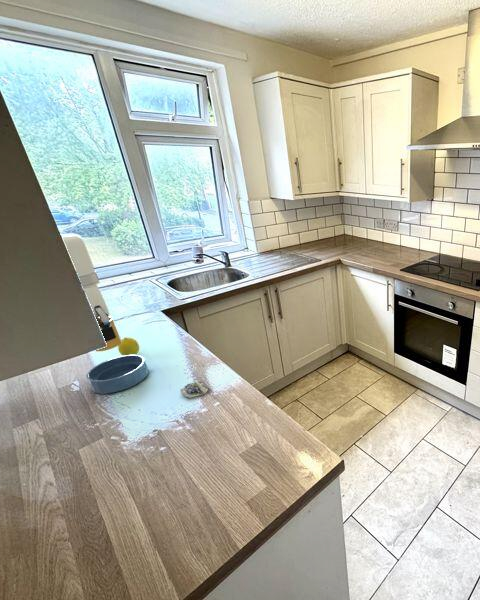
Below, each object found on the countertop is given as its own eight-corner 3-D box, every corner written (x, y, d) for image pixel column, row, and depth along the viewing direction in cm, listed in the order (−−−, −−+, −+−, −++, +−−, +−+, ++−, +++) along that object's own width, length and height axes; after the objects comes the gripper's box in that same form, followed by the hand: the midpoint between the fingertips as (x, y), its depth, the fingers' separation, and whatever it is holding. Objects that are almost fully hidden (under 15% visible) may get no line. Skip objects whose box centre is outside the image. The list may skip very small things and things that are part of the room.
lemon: (145, 355, 116) (138, 336, 113) (127, 363, 112) (119, 343, 109) (137, 351, 119) (130, 332, 116) (119, 358, 115) (111, 339, 111)
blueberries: (194, 381, 103) (192, 376, 103) (215, 385, 101) (213, 380, 101) (175, 395, 97) (173, 390, 97) (197, 400, 95) (196, 395, 95)
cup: (98, 353, 94) (87, 329, 91) (88, 347, 97) (77, 323, 94) (126, 343, 99) (116, 319, 96) (115, 337, 102) (106, 314, 99)
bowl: (105, 401, 95) (98, 387, 93) (84, 385, 101) (78, 372, 99) (157, 375, 106) (152, 362, 104) (136, 362, 112) (131, 350, 110)
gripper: (49, 278, 91) (75, 334, 98) (75, 290, 83) (101, 350, 90) (84, 271, 97) (105, 324, 104) (110, 281, 89) (132, 338, 96)
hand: (103, 336), depth 97 cm, fingers closed on cup, 6 cm apart
